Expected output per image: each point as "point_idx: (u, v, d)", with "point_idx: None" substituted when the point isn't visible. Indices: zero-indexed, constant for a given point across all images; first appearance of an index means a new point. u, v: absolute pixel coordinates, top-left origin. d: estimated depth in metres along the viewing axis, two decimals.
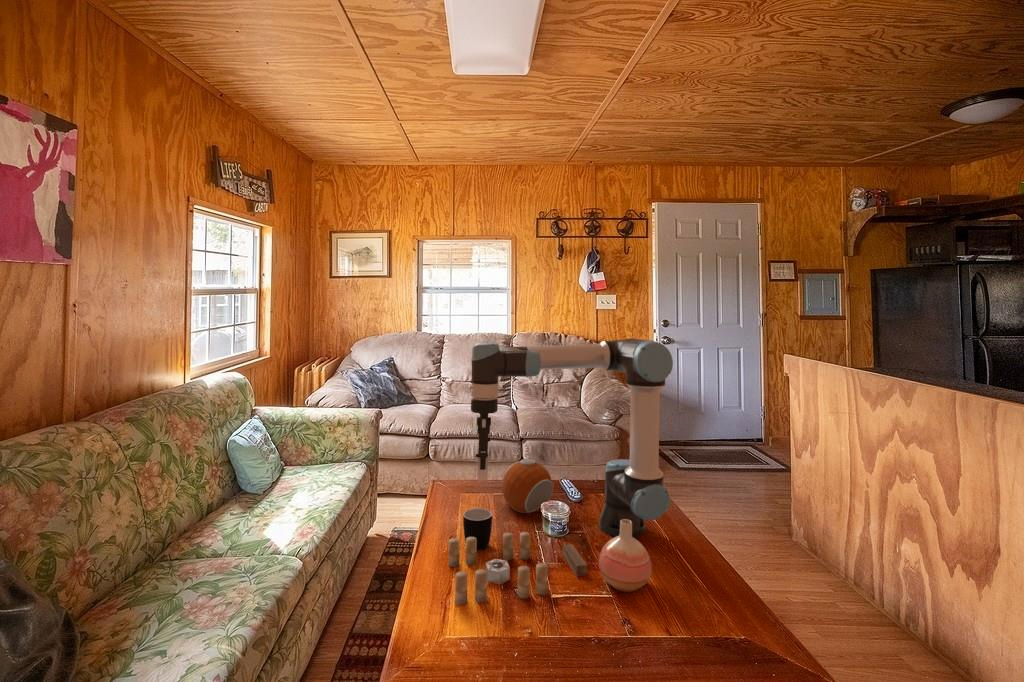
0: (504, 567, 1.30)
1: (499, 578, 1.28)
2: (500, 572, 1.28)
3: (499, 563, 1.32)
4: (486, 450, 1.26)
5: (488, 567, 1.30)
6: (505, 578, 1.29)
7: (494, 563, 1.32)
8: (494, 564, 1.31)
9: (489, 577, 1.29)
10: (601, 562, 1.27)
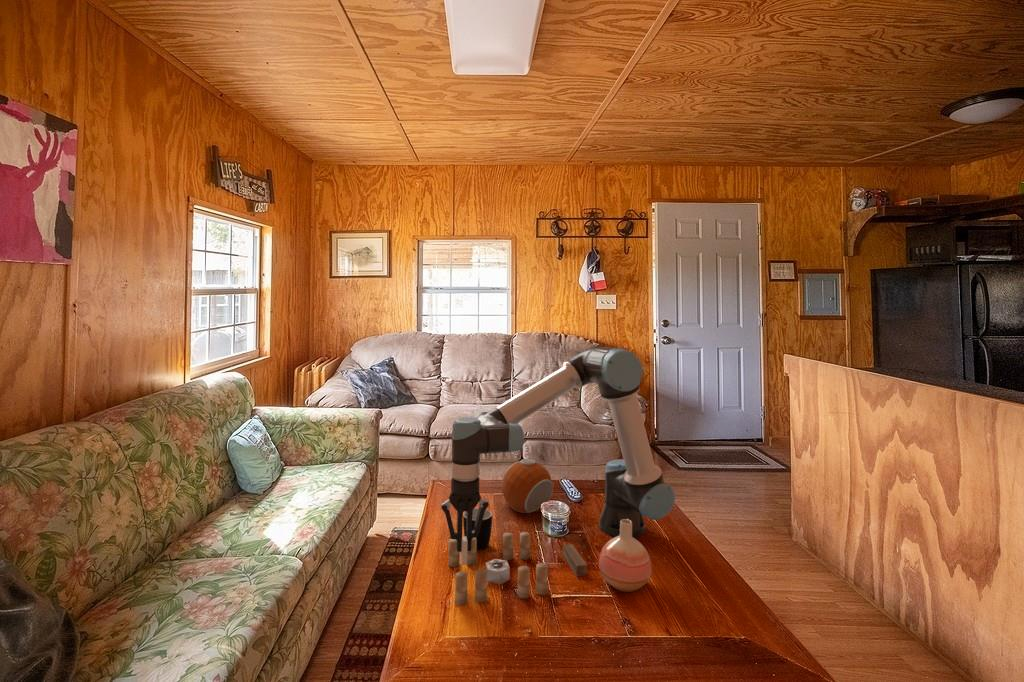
0: (504, 567, 1.30)
1: (499, 578, 1.28)
2: (500, 572, 1.28)
3: (499, 563, 1.32)
4: None
5: (488, 567, 1.30)
6: (505, 578, 1.29)
7: (494, 563, 1.32)
8: (494, 564, 1.31)
9: (489, 577, 1.29)
10: (601, 562, 1.27)
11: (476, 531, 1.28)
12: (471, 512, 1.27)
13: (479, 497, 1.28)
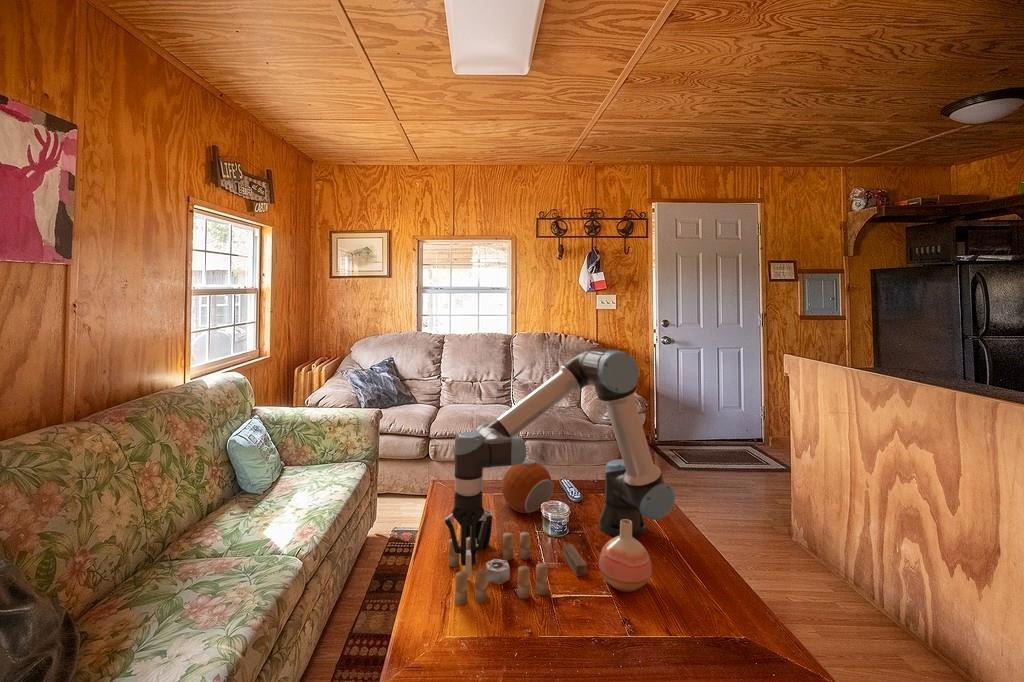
0: (504, 567, 1.30)
1: (499, 578, 1.28)
2: (500, 572, 1.28)
3: (499, 563, 1.32)
4: None
5: (488, 567, 1.30)
6: (505, 578, 1.29)
7: (494, 563, 1.32)
8: (494, 564, 1.31)
9: (489, 577, 1.29)
10: (601, 562, 1.27)
11: (480, 545, 1.29)
12: (475, 526, 1.27)
13: (482, 511, 1.28)
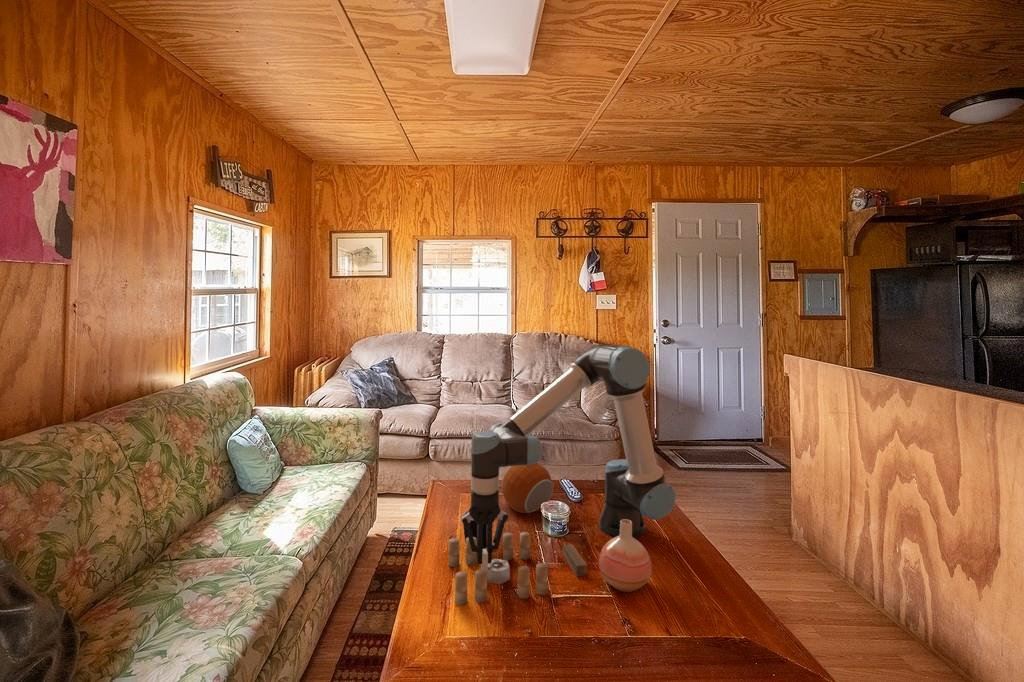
0: (504, 567, 1.30)
1: (499, 578, 1.28)
2: (500, 572, 1.28)
3: (499, 563, 1.32)
4: None
5: (488, 567, 1.30)
6: (505, 578, 1.29)
7: (494, 563, 1.32)
8: (494, 564, 1.31)
9: (489, 577, 1.29)
10: (601, 562, 1.27)
11: (496, 543, 1.30)
12: (491, 525, 1.28)
13: (499, 510, 1.29)
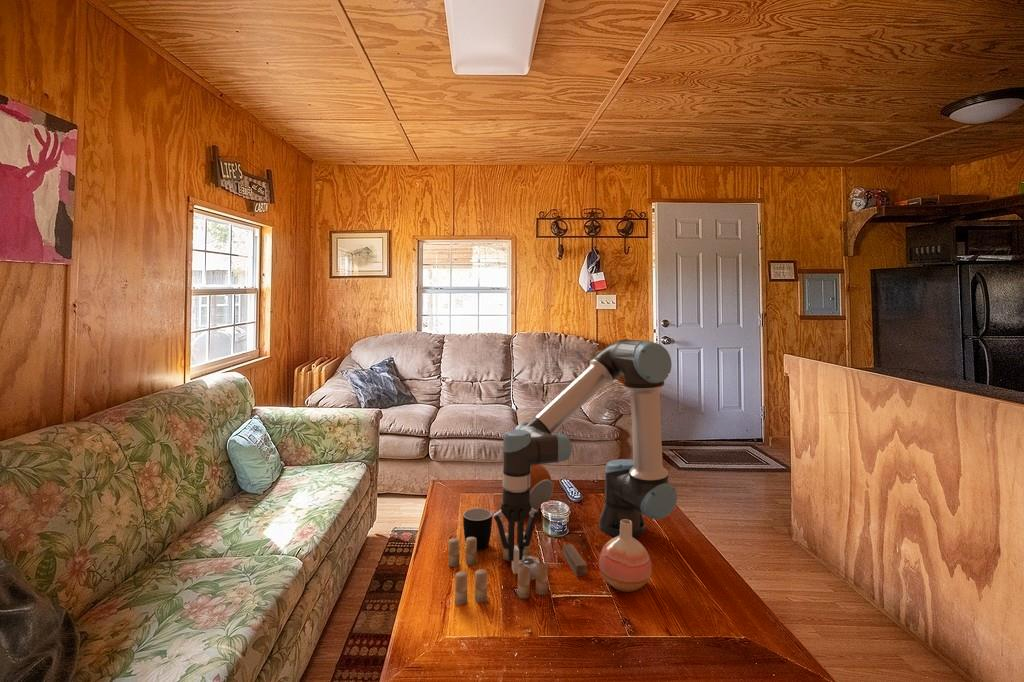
0: (535, 564, 1.32)
1: (530, 575, 1.30)
2: (531, 569, 1.30)
3: (530, 560, 1.34)
4: (502, 543, 1.30)
5: (519, 563, 1.32)
6: None
7: (524, 560, 1.34)
8: (525, 561, 1.33)
9: None
10: (601, 562, 1.27)
11: (527, 540, 1.32)
12: (523, 522, 1.30)
13: (530, 507, 1.31)
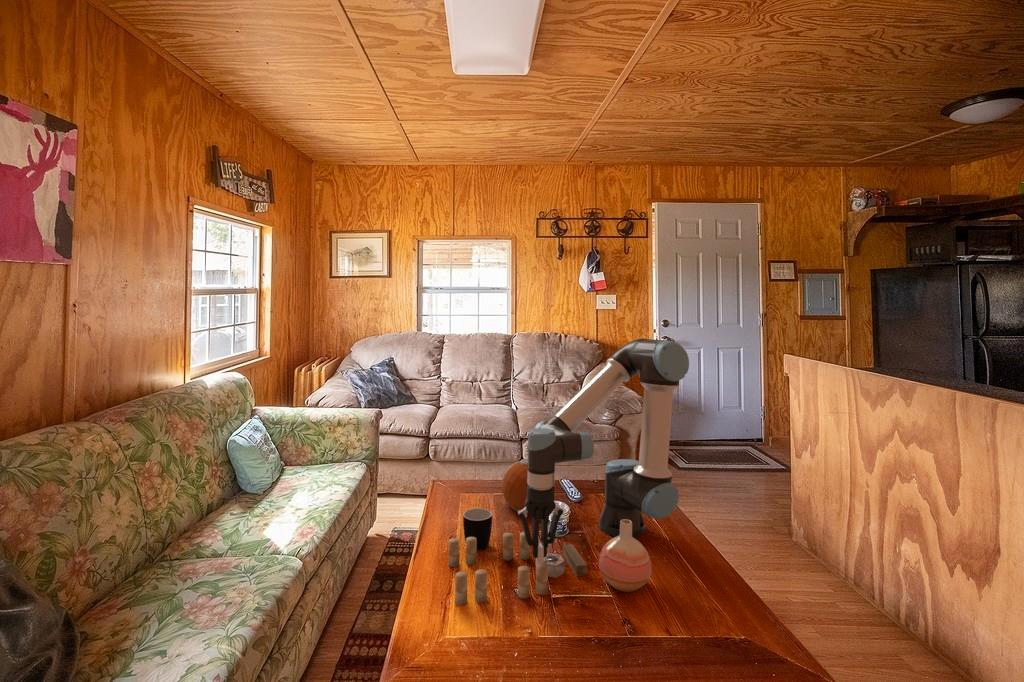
0: (559, 561, 1.33)
1: (555, 572, 1.32)
2: (556, 566, 1.31)
3: (553, 557, 1.36)
4: (527, 540, 1.32)
5: (544, 561, 1.33)
6: (560, 571, 1.33)
7: (548, 557, 1.35)
8: (549, 558, 1.35)
9: None
10: (601, 562, 1.27)
11: (551, 537, 1.33)
12: (547, 519, 1.32)
13: (554, 505, 1.33)
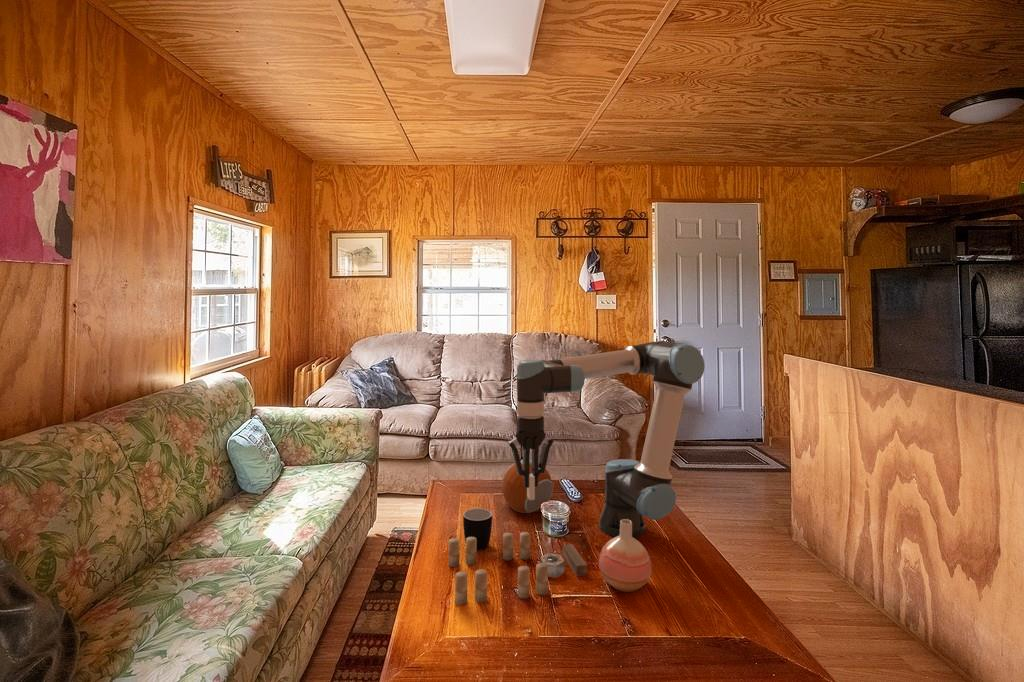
0: (559, 561, 1.33)
1: (555, 572, 1.32)
2: (556, 566, 1.31)
3: (553, 557, 1.36)
4: (518, 470, 1.33)
5: (544, 561, 1.33)
6: (560, 572, 1.33)
7: (548, 557, 1.35)
8: (549, 558, 1.35)
9: None
10: (601, 562, 1.27)
11: (542, 467, 1.34)
12: (537, 449, 1.33)
13: (544, 435, 1.34)
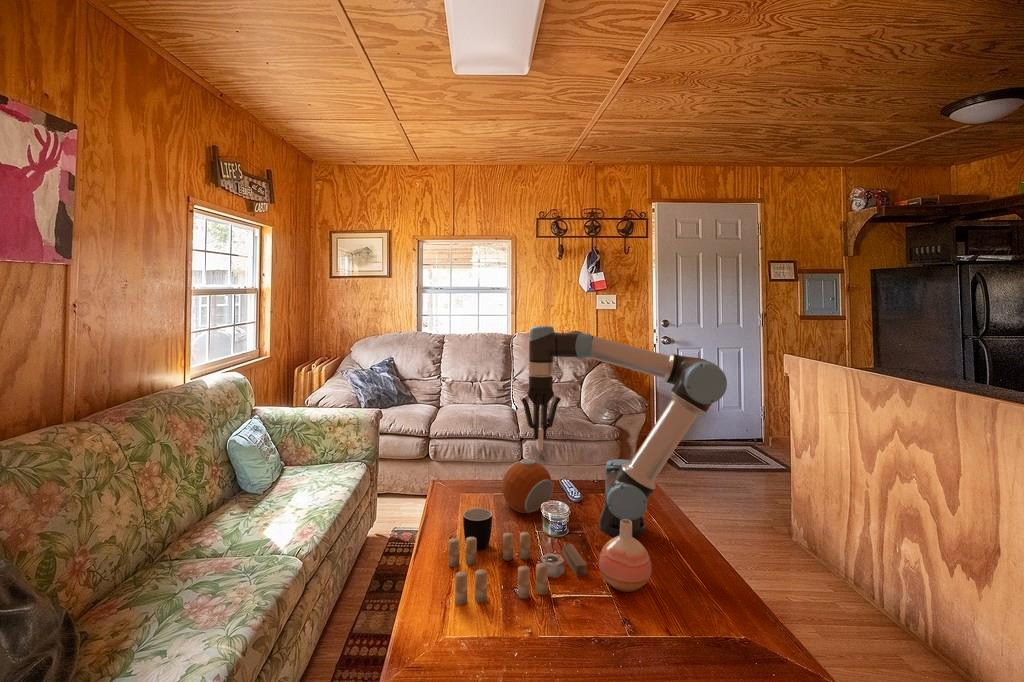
0: (559, 561, 1.33)
1: (555, 572, 1.32)
2: (556, 566, 1.31)
3: (553, 557, 1.36)
4: (528, 423, 1.50)
5: (543, 561, 1.33)
6: (560, 572, 1.33)
7: (548, 557, 1.35)
8: (549, 558, 1.35)
9: None
10: (601, 562, 1.27)
11: (550, 422, 1.51)
12: (546, 405, 1.50)
13: (552, 392, 1.51)
